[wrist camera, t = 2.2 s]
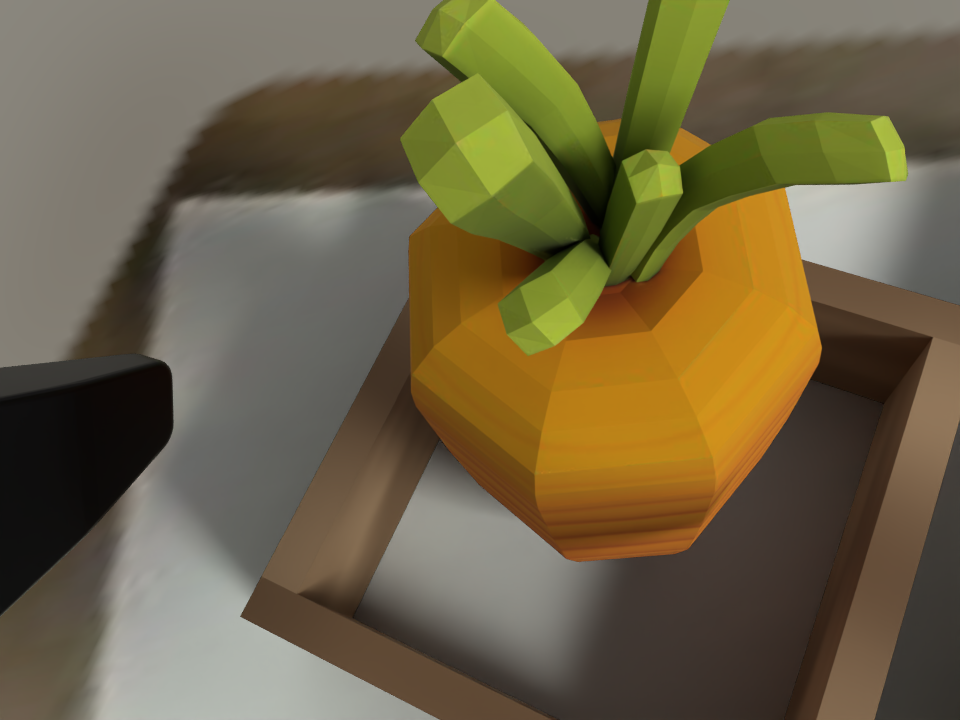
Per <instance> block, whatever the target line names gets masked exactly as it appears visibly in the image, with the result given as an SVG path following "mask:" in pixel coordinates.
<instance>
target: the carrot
mask: <svg viewBox="0 0 960 720" xmlns="http://www.w3.org/2000/svg"><path fill="white" fill-rule="evenodd" d="M729 1H730V0H649V2H648V5H647V10H646V14H645V18H644V22H643V27H642V31H641V36H640V40H639V44H638V48H637V52H636V57H635V61H634V65H633V69H632V74H631V78H630V82H629V87H628V91H627V96H626V100H625V105H624V109H623V114H622V118H621V119H616V120H609V121H602V122H597V121H596V119H595V117H594V116H593V114H592V112H591V110H590V108H589V106H588V104H587V102H586V100H585V98H584V96H583V94H582V92H581V90H580V88H579V86H578V84H577V83H576V82H575V81H574V80H573V79H572V77H571V76H570V75H569V74H568V73H567V72H566V71H565V69H564V68H563V67H562V66H561V65H560V64H559V63H558V62H557V60H556V59H555V58H554V57H553V56H552V55H551V54H550V53H549V51H548V50H547V49H546V48H545V47H544V46H543V44H542V43H541V42H540V41H539V40H538V39H537V38H536V37H535V35H534V34H533V33H532V32H531V31H530V30H529V29H528V28H527V27H526V26H525V25H524V24H523V23H522V22H521V21H520V20H518V19H517V18H516V17H515V16H513V15H512V14H511V13H510V12H508V11H507V10H506V9H505V8H503V7H502V6H501V5H500V4H499V3H498V2H496V1H495V0H443V1H442V2H441V3H440V4H438V5H437V6H436V7H435V8H434V9H433V10H432V11H431V13H430V15H429V17H428V19H427V20H426V22H425V24H424V26H423V27H422V29H421V31H420V33H419V35H418V36H417V38H416V40H415V41H416V42H417V44H418V45H419V46H420V47H421V48H422V49H423V50H424V51H426V52H427V53H428V54H429V55H430V56H431V57H433V58H434V59H435V60H436V61H437V62H439V63H440V64H441V65H442V66H443V67H444V68H446V69H447V70H448V71H449V72H450V73H452V74H453V75H454V76H455V77H456V78H457V79H459V80H460V81H461V82H462V83H460V84H458V85H457V86H455V87H453V88H451V89H450V90H448V91H446V92H444V93H443V94H441V95H439V96H438V97H436V98H434V99H432V100H431V102H430V103H429V104H428V105H427V106H426V108H425V109H424V110H423V111H422V112H421V114H420V115H419V116H418V117H417V119H416V120H415V121H414V122H413V123H412V125H411V126H410V127H409V128H408V129H407V131H406V132H405V133H404V134H403V135H402V137H401V138H400V140H401V143H402V145H403V147H404V150H405V152H406V155H407V157H408V159H409V162H410V164H411V166H412V169H413V171H414V174H415V176H416V178H417V181H418V183H419V184H420V185H421V187H422V188H423V189H424V190H425V192H426V193H427V194H428V195H429V197H430V198H431V199H432V201H433V202H434V203H435V204H436V206H437V207H438V208H437V209H436V210H435V211H434V212H433V213H432V214H431V215H430V216H429V217H428V218H427V219H426V220H425V221H424V222H423V223H422V224H421V225H420V226H419V227H418V228H417V229H416V230H415V231H414V232H413V233H412V234H411V235H410V236H409V251H408V253H409V310H410V366H411V394H412V397H413V400H414V402H415V405H416V407H417V408H418V410H419V411H420V412H421V414H422V415H423V416H424V418H425V419H426V420H427V422H428V423H429V424H430V426H431V427H432V428H433V430H434V431H435V432H436V434H437V435H438V436H439V438H440V439H441V440H442V442H443V443H444V444H445V446H446V447H447V448H448V450H449V451H450V452H451V453H452V455H453V456H454V457H455V458H456V459H457V460H458V461H459V462H460V464H461V465H462V466H463V467H464V468H465V469H466V470H467V471H468V473H469V474H470V475H471V476H472V477H473V478H474V479H475V480H476V482H477V483H478V484H479V485H480V486H481V487H483V488H484V489H485V490H486V491H487V492H488V493H490V494H491V495H492V496H493V497H494V498H495V499H497V500H498V501H499V502H500V503H501V504H503V505H504V506H505V507H506V508H507V509H508V510H510V511H511V512H512V513H513V514H514V515H515V516H517V517H518V518H519V519H520V520H521V521H523V522H524V523H525V524H526V525H527V526H528V527H530V528H531V529H532V530H533V531H534V532H536V533H537V534H538V535H539V536H540V537H541V538H543V539H544V540H545V541H546V542H547V543H548V544H550V545H551V546H552V547H553V548H554V549H556V550H557V551H558V552H559V553H560V554H561V555H563V556H564V557H565V558H566V559H569V560H573V561H576V562H582V561H594V560H607V559H619V558H631V557H644V556H656V555H668V554H676V553H679V552H682V551H684V550H687V549H689V547H690V546H691V545H692V544H693V542H694V541H695V540H696V539H697V537H698V536H699V535H700V534H701V532H702V531H703V530H704V529H705V527H706V526H707V525H708V524H709V523H710V521H711V520H712V519H713V518H714V516H715V515H716V514H717V513H718V511H719V510H720V509H721V508H722V506H723V505H724V504H725V503H726V501H727V500H728V499H729V498H730V496H731V495H732V494H733V493H734V491H735V490H736V489H737V488H738V486H739V485H740V484H741V483H742V481H743V480H744V479H745V478H746V476H747V475H748V474H749V473H750V471H751V470H752V469H753V468H754V466H755V465H756V464H757V463H758V461H759V460H760V459H761V458H762V456H763V455H764V453H765V452H766V450H767V449H768V447H769V446H770V444H771V443H772V441H773V440H774V438H775V437H776V435H777V434H778V432H779V431H780V429H781V428H782V426H783V425H784V423H785V422H786V420H787V419H788V417H789V415H790V414H791V412H792V410H793V408H794V407H795V405H796V403H797V401H798V399H799V398H800V396H801V394H802V392H803V391H804V389H805V387H806V385H807V383H808V382H809V380H810V378H811V376H812V375H813V373H814V371H815V369H816V367H817V366H818V364H819V360H820V355H821V350H822V346H821V341H820V337H819V333H818V328H817V324H816V320H815V315H814V311H813V307H812V302H811V298H810V294H809V290H808V285H807V281H806V277H805V272H804V268H803V264H802V259H801V255H800V251H799V247H798V242H797V238H796V234H795V229H794V225H793V221H792V216H791V212H790V208H789V203H788V199H787V195H786V191H785V187H789V186H794V185H850V184H867V183H881V182H896V181H906V179H907V176H908V170H907V164H906V157H905V148H904V145H903V143H902V141H901V139H900V137H899V136H898V134H897V132H896V130H895V128H894V126H893V124H892V123H891V121H890V119H889V117H887V116H874V115H858V114H843V113H817V114H807V115H797V116H787V117H777V118H769V119H767V120H765V121H762V122H760V123H758V124H756V125H754V126H752V127H749V128H747V129H745V130H743V131H741V132H739V133H737V134H734V135H732V136H730V137H728V138H726V139H724V140H721V141H719V142H717V143H715V144H713V145H710V144H708V143H707V142H705V141H703V140H701V139H699V138H698V137H696V136H694V135H692V134H691V133H689V132H687V131H685V130H684V129H682V128H680V126H681V123H682V121H683V118H684V115H685V113H686V110H687V108H688V105H689V103H690V100H691V98H692V95H693V92H694V90H695V87H696V85H697V82H698V80H699V77H700V75H701V72H702V69H703V67H704V64H705V62H706V59H707V57H708V54H709V52H710V49H711V47H712V44H713V41H714V39H715V36H716V34H717V31H718V29H719V26H720V24H721V21H722V18H723V16H724V13H725V11H726V8H727V6H728V3H729Z"/></svg>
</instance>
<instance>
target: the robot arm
mask: <svg viewBox="0 0 960 720" xmlns="http://www.w3.org/2000/svg"><path fill="white" fill-rule="evenodd" d="M173 423H174V420H173V385H172V373H171V370H170V368H169V366H168V365H167V364H166V363H165V362H163V361H160V360H157V359H154V358H151V357H147V356H144V355H141V354H125V355H115V356H106V357H97V358H87V359H78V360H68V361H59V362H50V363H40V364H31V365H21V366H12V367H3V368H0V616H1V615H2V614H4V613H5V612H6V611H7V610H8V609H9V608H10V607H11V606H12V605H13V604H14V603H15V602H16V601H17V600H18V599H20V598H21V597H22V596H23V595H24V594H25V593H26V592H27V591H28V590H29V589H30V588H31V587H32V586H33V585H35V584H36V583H37V582H38V581H39V580H40V579H41V578H42V577H43V576H44V575H45V574H46V573H47V572H48V571H49V570H51V569H52V568H53V567H54V566H55V565H56V564H57V563H58V562H59V561H60V560H61V559H62V558H63V557H64V556H65V555H67V554H68V553H69V552H70V551H71V550H72V549H73V548H74V547H75V546H76V545H77V544H78V543H79V542H80V541H81V540H82V539H83V538H84V537H85V536H86V535H87V534H88V533H89V532H90V531H91V530H92V529H93V527H94V526H95V525H96V524H97V523H98V522H99V521H100V520H101V519H102V518H103V516H104V515H105V514H106V513H107V512H108V511H109V510H110V508H111V507H112V506H113V505H114V504H115V503H116V502H117V500H118V499H119V498H120V497H121V496H122V495H123V494H124V493H125V491H126V490H127V489H128V488H129V487H130V486H131V485H132V483H133V482H134V481H135V480H136V479H137V478H138V477H139V475H140V474H141V473H142V472H143V471H144V470H145V469H146V468H147V466H148V465H149V464H150V463H151V462H152V461H153V460H154V458H155V457H156V456H157V455H158V454H159V453H160V452H161V450H162V449H163V448H164V447H165V446H166V444H167V443H168V441H169V439H170V437H171V434H172V431H173Z"/></svg>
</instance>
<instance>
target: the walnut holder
mask: <svg viewBox="0 0 960 720" xmlns="http://www.w3.org/2000/svg"><path fill="white" fill-rule="evenodd" d="M802 264H803V268H804V272H805V277H806V281H807V285H808V290H809V294H810V298H811V302H812V307H813V311H814V315H815V320H816V324H817V328H818V333H819V337H820V341H821V346H822V350H821V355H820V360H819V364H818V366H817V367H816V369H815V371H814V373H813V375H812V376H811V378H810V379H812V380H815V381H818V382H821V383H824V384H827V385H830V386H833V387H836V388H839V389H842V390H845V391H848V392H851V393H854V394H857V395H860V396H863V397H866V398H869V399H872V400H875V401H878V402H881V403H884V406H883V409H882V412H881V415H880V418H879V422H878V425H877V428H876V431H875V434H874V437H873V440H872V444H871V447H870V450H869V453H868V456H867V459H866V463H865V466H864V469H863V472H862V475H861V478H860V482H859V485H858V488H857V491H856V494H855V497H854V500H853V504H852V507H851V510H850V513H849V516H848V519H847V523H846V526H845V529H844V532H843V535H842V538H841V542H840V545H839V548H838V551H837V554H836V557H835V560H834V564H833V567H832V570H831V573H830V576H829V579H828V583H827V586H826V589H825V592H824V595H823V598H822V602H821V605H820V608H819V611H818V614H817V617H816V620H815V624H814V627H813V630H812V633H811V636H810V639H809V643H808V646H807V649H806V652H805V655H804V658H803V662H802V665H801V668H800V671H799V674H798V677H797V680H796V684H795V687H794V690H793V693H792V696H791V699H790V703H789V706H788V709H787V712H786V715H785V718H784V720H874V719H875V716H876V712H877V709H878V705H879V702H880V698H881V695H882V691H883V688H884V684H885V680H886V677H887V673H888V670H889V666H890V663H891V659H892V656H893V652H894V649H895V645H896V642H897V638H898V635H899V631H900V628H901V624H902V621H903V617H904V614H905V610H906V607H907V603H908V600H909V596H910V593H911V589H912V586H913V582H914V579H915V575H916V572H917V568H918V565H919V561H920V558H921V554H922V551H923V547H924V543H925V540H926V536H927V533H928V529H929V526H930V522H931V519H932V515H933V512H934V508H935V505H936V501H937V498H938V494H939V491H940V487H941V484H942V480H943V477H944V473H945V470H946V466H947V463H948V459H949V456H950V452H951V449H952V445H953V442H954V438H955V435H956V431H957V428H958V424H959V421H960V305H956V304H953V303H949V302H946V301H943V300H939V299H936V298H932V297H929V296H925V295H922V294H918V293H915V292H912V291H908V290H905V289H901V288H898V287H894V286H891V285H887V284H884V283H881V282H877V281H874V280H870V279H867V278H863V277H860V276H857V275H853V274H850V273H846V272H843V271H839V270H836V269H832V268H829V267H826V266H822V265H819V264H815V263H812V262H808V261H805V260H802ZM439 439H440V438H439V436H438V435H437V434H436V432H435V431H434V430H433V428H432V427H431V426H430V424H429V423H428V422H427V420H426V419H425V418H424V416H423V415H422V414H421V412H420V411H419V410H418V408H417V407H416V405H415V402H414V400H413V397H412V394H411V366H410V310H409V298H408V300H407V302H406V304H405V306H404V308H403V310H402V312H401V313H400V315H399V317H398V319H397V321H396V323H395V325H394V327H393V329H392V330H391V332H390V334H389V336H388V338H387V340H386V342H385V344H384V346H383V347H382V349H381V351H380V353H379V355H378V357H377V359H376V361H375V363H374V364H373V366H372V368H371V370H370V372H369V374H368V376H367V378H366V380H365V382H364V383H363V385H362V387H361V389H360V391H359V393H358V395H357V397H356V399H355V400H354V402H353V404H352V406H351V408H350V410H349V412H348V414H347V416H346V417H345V419H344V421H343V423H342V425H341V427H340V429H339V431H338V433H337V434H336V436H335V438H334V440H333V442H332V444H331V446H330V448H329V450H328V452H327V453H326V455H325V457H324V459H323V461H322V463H321V465H320V467H319V469H318V470H317V472H316V474H315V476H314V478H313V480H312V482H311V484H310V486H309V487H308V489H307V491H306V493H305V495H304V497H303V499H302V501H301V503H300V504H299V506H298V508H297V510H296V512H295V514H294V516H293V518H292V520H291V522H290V523H289V525H288V527H287V529H286V531H285V533H284V535H283V537H282V539H281V540H280V542H279V544H278V546H277V548H276V550H275V552H274V554H273V556H272V557H271V559H270V561H269V563H268V565H267V567H266V569H265V571H264V573H263V574H262V576H261V578H260V580H259V582H258V584H257V586H256V588H255V590H254V592H253V593H252V595H251V597H250V599H249V601H248V603H247V605H246V607H245V609H244V610H243V612H242V614H241V616H240V617H242V618H244V619H246V620H248V621H250V622H252V623H254V624H255V625H257V626H259V627H261V628H263V629H265V630H267V631H269V632H271V633H273V634H275V635H277V636H279V637H281V638H283V639H285V640H287V641H288V642H290V643H292V644H294V645H296V646H298V647H300V648H302V649H304V650H306V651H308V652H310V653H312V654H314V655H316V656H318V657H319V658H321V659H323V660H325V661H327V662H329V663H331V664H333V665H335V666H337V667H339V668H341V669H343V670H345V671H347V672H349V673H351V674H352V675H354V676H356V677H358V678H360V679H362V680H364V681H366V682H368V683H370V684H372V685H374V686H376V687H378V688H380V689H382V690H383V691H385V692H387V693H389V694H391V695H393V696H395V697H397V698H399V699H401V700H403V701H405V702H407V703H409V704H411V705H413V706H415V707H416V708H418V709H420V710H422V711H424V712H426V713H428V714H430V715H432V716H434V717H436V718H438V719H440V720H558V719H556V718H554V717H552V716H550V715H548V714H546V713H544V712H542V711H540V710H538V709H536V708H534V707H532V706H530V705H528V704H526V703H524V702H522V701H520V700H518V699H516V698H514V697H512V696H510V695H508V694H506V693H504V692H502V691H500V690H497V689H495V688H493V687H491V686H489V685H487V684H485V683H483V682H481V681H479V680H477V679H475V678H473V677H471V676H469V675H467V674H465V673H463V672H461V671H459V670H457V669H455V668H453V667H451V666H449V665H447V664H445V663H443V662H441V661H439V660H437V659H435V658H433V657H430V656H428V655H426V654H424V653H422V652H420V651H418V650H416V649H414V648H412V647H410V646H408V645H406V644H404V643H402V642H400V641H398V640H396V639H394V638H392V637H390V636H388V635H386V634H384V633H382V632H380V631H378V630H376V629H374V628H372V627H370V626H368V625H365V624H363V623H361V622H359V621H357V620H355V619H353V616H354V614H355V611H356V609H357V607H358V605H359V603H360V601H361V599H362V597H363V595H364V593H365V591H366V589H367V587H368V585H369V583H370V581H371V579H372V577H373V575H374V572H375V570H376V568H377V566H378V564H379V562H380V560H381V558H382V556H383V554H384V552H385V550H386V548H387V546H388V544H389V542H390V540H391V538H392V536H393V533H394V531H395V529H396V527H397V525H398V523H399V521H400V519H401V517H402V515H403V513H404V511H405V509H406V507H407V505H408V503H409V501H410V499H411V497H412V494H413V492H414V490H415V488H416V486H417V484H418V482H419V480H420V478H421V476H422V474H423V472H424V470H425V468H426V466H427V464H428V462H429V460H430V458H431V455H432V453H433V451H434V449H435V447H436V445H437V443H438V441H439Z"/></svg>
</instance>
